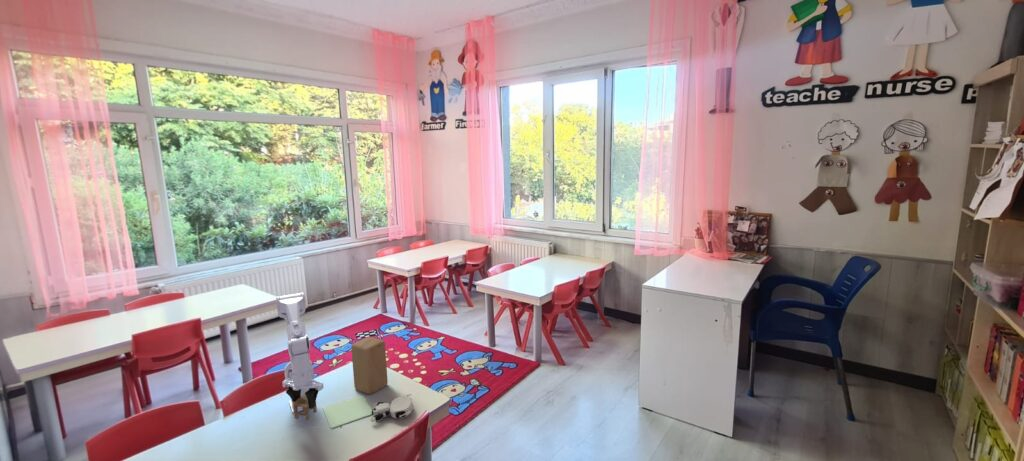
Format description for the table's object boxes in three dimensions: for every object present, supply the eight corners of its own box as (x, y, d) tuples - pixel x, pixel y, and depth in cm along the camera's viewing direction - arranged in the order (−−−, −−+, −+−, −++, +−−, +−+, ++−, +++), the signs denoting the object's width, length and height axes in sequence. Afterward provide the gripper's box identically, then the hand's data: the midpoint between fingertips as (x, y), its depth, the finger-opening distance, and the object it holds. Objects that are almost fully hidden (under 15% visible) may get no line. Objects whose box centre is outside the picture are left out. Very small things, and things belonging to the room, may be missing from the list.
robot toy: (370, 429, 151) (413, 421, 153) (368, 418, 150) (411, 409, 152) (374, 409, 162) (414, 402, 165) (372, 399, 162) (412, 391, 164)
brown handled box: (294, 418, 146) (293, 402, 145) (304, 410, 151) (302, 394, 150) (307, 420, 145) (306, 404, 144) (316, 411, 150) (315, 396, 149)
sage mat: (322, 408, 162) (322, 407, 162) (362, 396, 170) (362, 395, 170) (331, 428, 149) (331, 427, 149) (373, 414, 158) (373, 413, 158)
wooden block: (388, 384, 178) (385, 340, 175) (369, 396, 170) (366, 349, 167) (372, 378, 184) (369, 335, 180) (353, 389, 175) (350, 344, 172)
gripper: (274, 374, 142) (278, 411, 145) (312, 378, 140) (316, 415, 142) (289, 364, 149) (292, 399, 152) (325, 368, 147) (329, 403, 149)
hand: (305, 406), depth 147 cm, fingers closed on brown handled box, 5 cm apart
